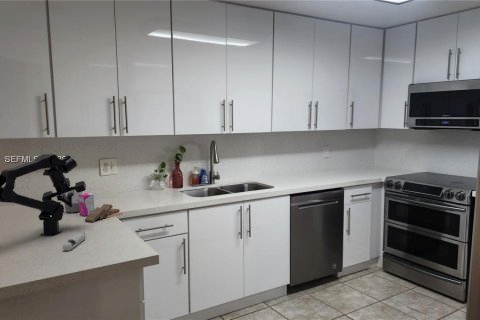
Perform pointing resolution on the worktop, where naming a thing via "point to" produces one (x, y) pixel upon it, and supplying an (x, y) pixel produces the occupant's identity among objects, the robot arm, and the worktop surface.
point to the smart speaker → (73, 203)
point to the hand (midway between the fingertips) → (71, 206)
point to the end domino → (114, 215)
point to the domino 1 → (95, 214)
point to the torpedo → (74, 241)
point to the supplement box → (86, 204)
